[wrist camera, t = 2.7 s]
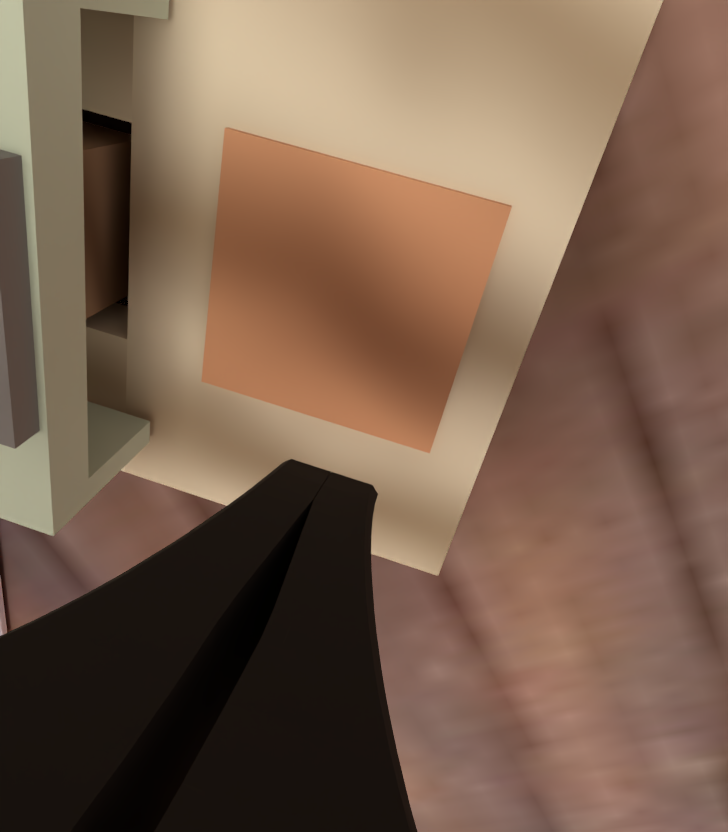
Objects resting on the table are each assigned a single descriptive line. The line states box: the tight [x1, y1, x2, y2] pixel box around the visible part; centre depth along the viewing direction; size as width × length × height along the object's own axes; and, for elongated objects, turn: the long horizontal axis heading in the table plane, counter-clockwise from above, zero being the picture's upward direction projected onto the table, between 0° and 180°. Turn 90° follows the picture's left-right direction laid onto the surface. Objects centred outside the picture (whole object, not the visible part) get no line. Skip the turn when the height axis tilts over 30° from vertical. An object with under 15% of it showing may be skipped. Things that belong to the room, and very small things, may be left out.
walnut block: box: [82, 121, 131, 319], centre depth 17 cm, size 4×4×4 cm
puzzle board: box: [80, 0, 663, 576], centre depth 18 cm, size 16×26×2 cm, turn 77°
